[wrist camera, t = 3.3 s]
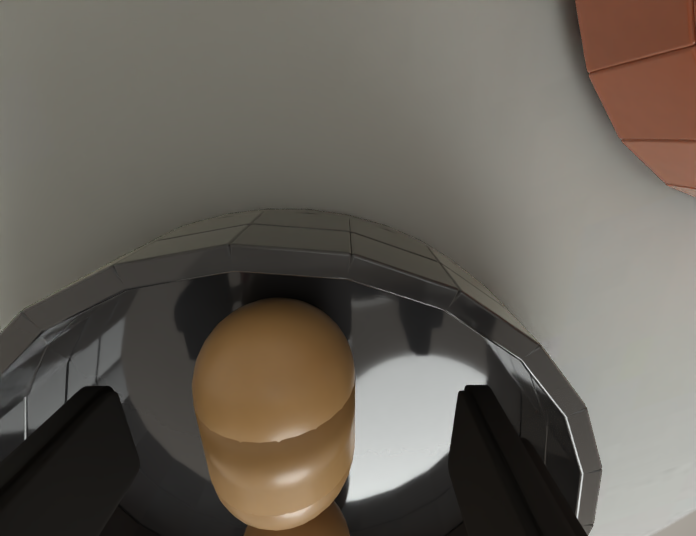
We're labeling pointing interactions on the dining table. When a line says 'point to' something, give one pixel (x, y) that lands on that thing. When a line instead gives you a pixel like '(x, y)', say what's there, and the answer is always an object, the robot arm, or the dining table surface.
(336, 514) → the potato
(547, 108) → the dining table surface
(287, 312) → the potato
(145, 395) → the skillet
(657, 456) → the dining table surface
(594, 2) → the bowl
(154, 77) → the dining table surface
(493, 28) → the dining table surface
